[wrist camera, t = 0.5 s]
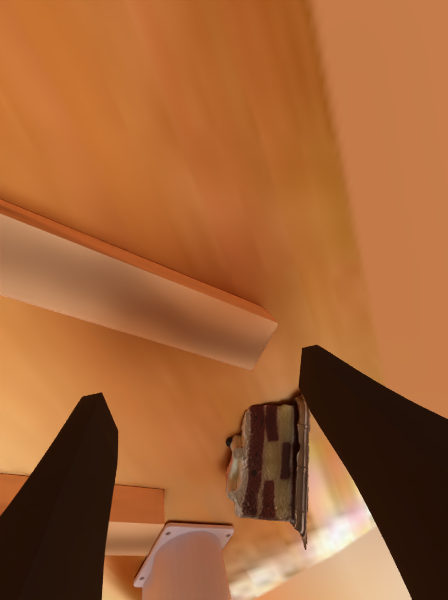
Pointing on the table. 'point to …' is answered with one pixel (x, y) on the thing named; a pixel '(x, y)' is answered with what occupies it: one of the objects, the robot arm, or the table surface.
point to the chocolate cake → (271, 464)
